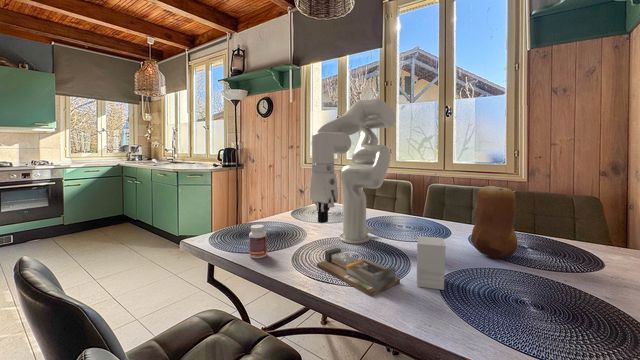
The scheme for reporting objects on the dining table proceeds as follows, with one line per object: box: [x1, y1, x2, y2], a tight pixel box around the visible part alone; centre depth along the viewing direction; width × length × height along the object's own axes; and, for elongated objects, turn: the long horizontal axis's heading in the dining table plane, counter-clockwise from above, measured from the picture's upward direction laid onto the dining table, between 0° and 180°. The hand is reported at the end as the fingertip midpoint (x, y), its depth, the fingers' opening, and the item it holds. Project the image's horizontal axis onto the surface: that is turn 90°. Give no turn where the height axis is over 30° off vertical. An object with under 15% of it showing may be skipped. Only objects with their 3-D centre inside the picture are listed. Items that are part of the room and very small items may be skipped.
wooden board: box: [316, 258, 401, 297], centre depth 91 cm, size 12×24×5 cm, turn 37°
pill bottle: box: [248, 224, 268, 259], centre depth 107 cm, size 6×6×11 cm
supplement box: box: [416, 235, 447, 291], centre depth 85 cm, size 7×7×13 cm
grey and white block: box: [324, 247, 361, 269], centre depth 96 cm, size 5×13×3 cm, turn 37°
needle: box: [346, 259, 368, 271], centre depth 88 cm, size 8×2×4 cm, turn 127°
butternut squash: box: [470, 185, 518, 260], centre depth 103 cm, size 14×13×25 cm
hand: (322, 222), depth 102 cm, fingers closed
